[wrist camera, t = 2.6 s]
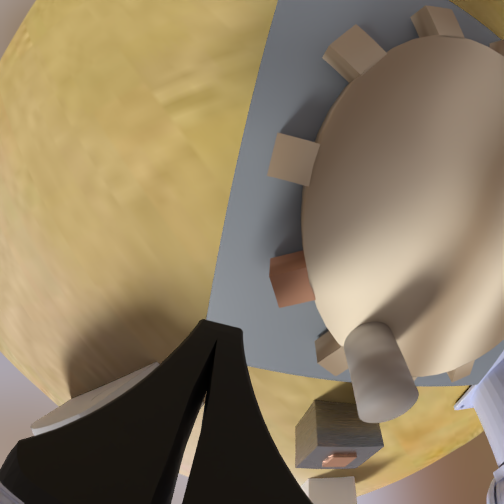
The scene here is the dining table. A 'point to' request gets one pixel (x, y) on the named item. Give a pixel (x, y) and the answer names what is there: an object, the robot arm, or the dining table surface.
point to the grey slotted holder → (90, 401)
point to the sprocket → (402, 212)
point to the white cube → (330, 490)
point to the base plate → (290, 194)
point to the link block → (335, 437)
